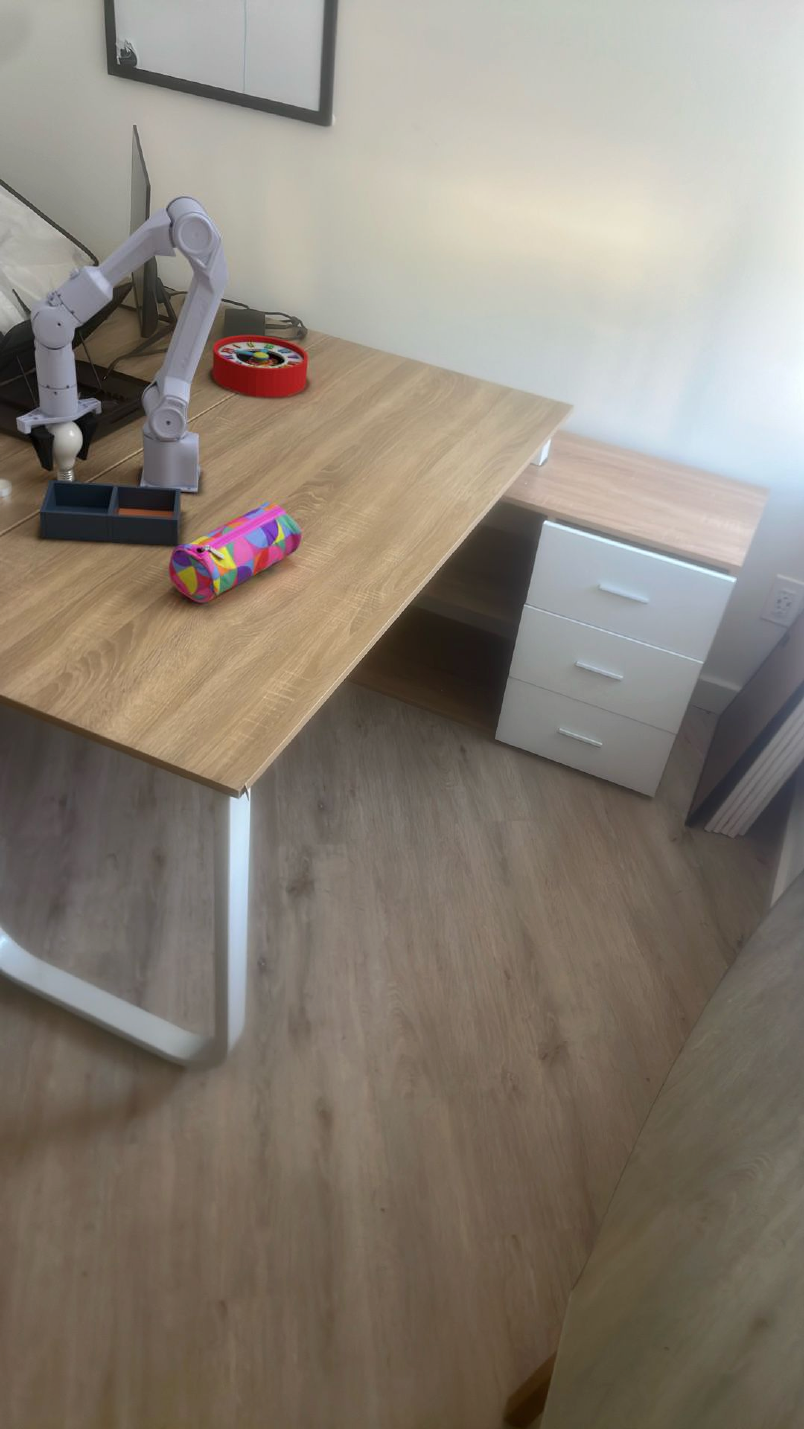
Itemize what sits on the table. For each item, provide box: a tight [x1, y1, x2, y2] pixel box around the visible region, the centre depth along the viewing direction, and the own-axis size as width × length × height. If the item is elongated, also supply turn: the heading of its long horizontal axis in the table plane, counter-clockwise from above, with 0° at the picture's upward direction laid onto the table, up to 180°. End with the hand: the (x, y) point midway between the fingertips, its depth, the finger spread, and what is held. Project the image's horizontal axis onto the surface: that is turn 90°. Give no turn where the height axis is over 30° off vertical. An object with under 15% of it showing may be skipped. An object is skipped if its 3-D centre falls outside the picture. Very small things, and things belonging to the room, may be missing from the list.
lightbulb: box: [46, 421, 83, 482], centre depth 155 cm, size 6×6×11 cm
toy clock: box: [212, 334, 309, 398], centre depth 203 cm, size 20×6×20 cm
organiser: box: [39, 479, 182, 547], centre depth 148 cm, size 20×10×4 cm, turn 98°
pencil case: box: [168, 501, 302, 604], centre depth 140 cm, size 22×9×9 cm, turn 148°
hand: (64, 463), depth 156 cm, fingers closed on lightbulb, 6 cm apart
